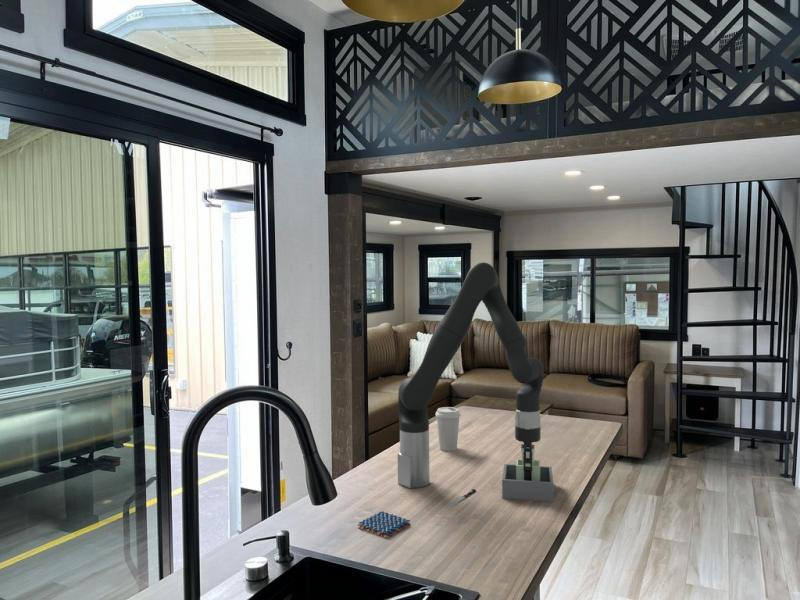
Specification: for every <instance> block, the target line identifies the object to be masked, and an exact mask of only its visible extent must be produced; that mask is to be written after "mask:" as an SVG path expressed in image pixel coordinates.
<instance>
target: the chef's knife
mask: <svg viewBox="0 0 800 600" xmlns="http://www.w3.org/2000/svg"><path fill="white" fill-rule="evenodd" d="M476 491H477V490H476V489H475V488H472V489H471V490H470V491H469V492H468V493H467V492H466V493H465V494H463V495H462V496H461V495H460V496H459V495H458V496H456V497H454V498H455V499H454V498H453V499H452V500H450V501H449V503H447V505H446V506H447V507H445V510H447V509H448V510H449V509H451V508H453V507H455V506H456V505H457V504H459V503H461V502H463V499H464V500H465V499H467V498H468V497H469V495H470V496H471V495H472V494H474V493H475V492H476ZM460 501H461V502H460Z"/></svg>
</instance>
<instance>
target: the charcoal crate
mask: <svg viewBox="0 0 800 600" xmlns="http://www.w3.org/2000/svg"><path fill="white" fill-rule="evenodd" d="M502 471H503V472H502V480H501V483H502V484H501V487H502V488H501V489H502V490H501V491H502V492H501V494H502V496H501V498H502V499H507V500H520V501H534V502H544V503H545V502H547V503H548V502H549V503H554V477H553V467H552V466H547V465H545V466H544V465H540V482H539V481H525V480H516V464H512V463H504V464H503V470H502Z"/></svg>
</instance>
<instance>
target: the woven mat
mask: <svg viewBox="0 0 800 600" xmlns="http://www.w3.org/2000/svg"><path fill="white" fill-rule="evenodd" d="M410 522H411V520H410V519H407V518H406V517H405V518H403V517H402V516H398V515H394V513H389V512H386V511H379V512H378V513H375V514H374V515H371V516H370V517H367V518H366V519H363V520H362V521H358V524H357V526H358V528H357V529H361V530H363V531H364V532H366V531H367V532H368V533H369V532H370V533H371V534H374V535H377V536H380V538H382V537H383V538H384V539H385V538H386V539H387V538H389V537H392V536H393V535H394V534H395V533H398V532H399V531H401V530H403V529H405V528H406V527H408V526H410V525H411V523H410Z"/></svg>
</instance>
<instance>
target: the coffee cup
mask: <svg viewBox="0 0 800 600" xmlns="http://www.w3.org/2000/svg"><path fill="white" fill-rule="evenodd" d="M461 415H462V414H461V412H460V410H459V408H457V407H453V406H451V407H450V406H444V407H438V408H437V410H436V411H435V416H436V422H437V434H438V435H437V436H438V445H439V450H440V449H441V450H440V451H442V450H444V451H443V452H454V451H453V450H455V451H456V449H458V437H459V436H458V435H459V425H460V417H461Z"/></svg>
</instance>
